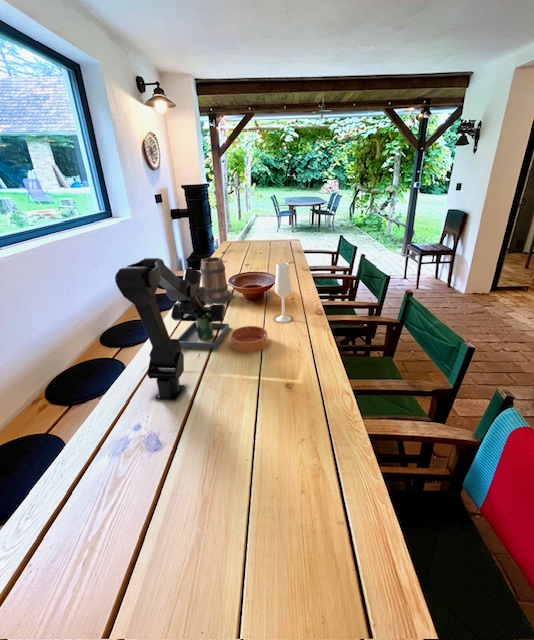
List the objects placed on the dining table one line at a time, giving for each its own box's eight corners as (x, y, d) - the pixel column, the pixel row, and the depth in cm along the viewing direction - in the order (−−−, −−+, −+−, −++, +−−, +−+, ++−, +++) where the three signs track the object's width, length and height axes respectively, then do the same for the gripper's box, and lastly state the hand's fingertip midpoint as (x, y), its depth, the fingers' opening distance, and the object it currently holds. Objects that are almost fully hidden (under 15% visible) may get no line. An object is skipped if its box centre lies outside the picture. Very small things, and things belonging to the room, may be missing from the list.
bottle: (215, 338, 122) (211, 307, 117) (199, 341, 120) (195, 309, 115) (212, 332, 127) (208, 301, 122) (197, 335, 126) (192, 304, 120)
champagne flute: (293, 317, 139) (293, 262, 129) (288, 323, 134) (287, 266, 124) (279, 314, 142) (278, 261, 132) (273, 320, 136) (271, 265, 126)
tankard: (231, 302, 157) (228, 262, 149) (197, 304, 156) (191, 264, 148) (233, 287, 178) (230, 251, 170) (203, 289, 178) (198, 253, 169)
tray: (215, 350, 115) (214, 344, 114) (175, 347, 118) (174, 341, 117) (229, 329, 131) (228, 323, 129) (194, 327, 133) (193, 321, 132)
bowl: (263, 355, 111) (262, 343, 109) (226, 352, 113) (225, 341, 112) (270, 337, 123) (270, 326, 121) (237, 335, 125) (236, 325, 123)
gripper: (221, 282, 109) (231, 301, 124) (169, 282, 112) (185, 300, 126) (217, 313, 106) (228, 328, 120) (163, 311, 108) (180, 327, 123)
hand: (205, 320), depth 122 cm, fingers closed on bottle, 6 cm apart
